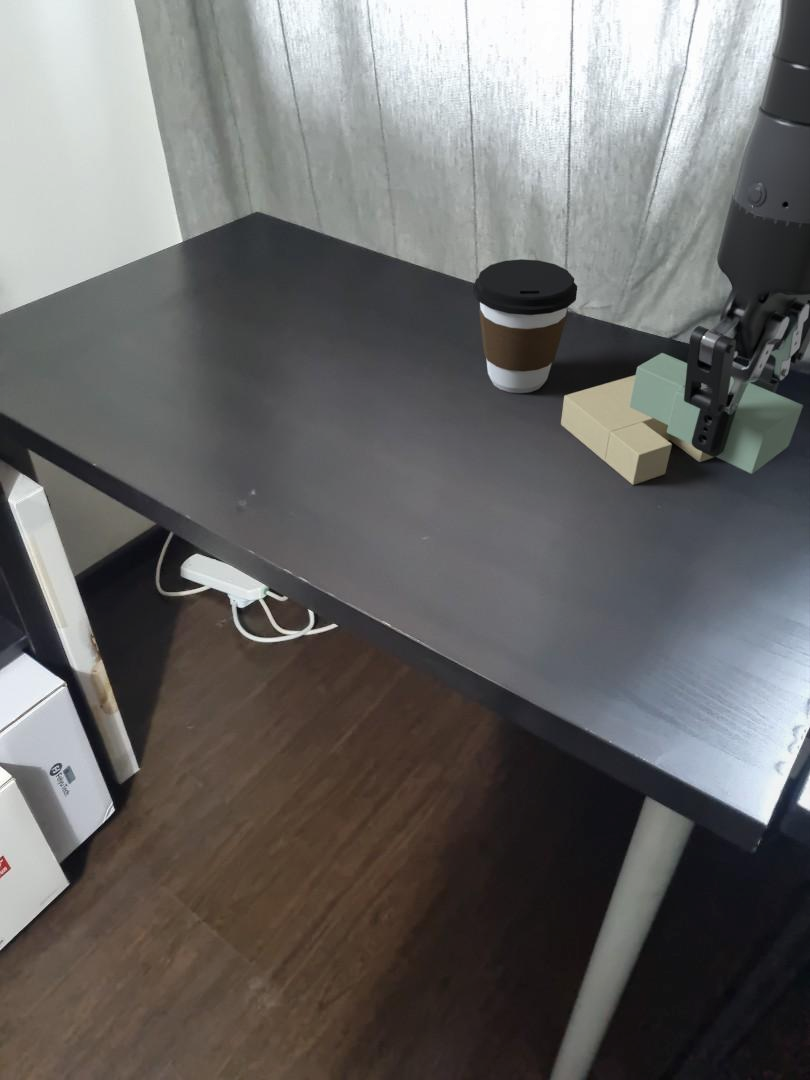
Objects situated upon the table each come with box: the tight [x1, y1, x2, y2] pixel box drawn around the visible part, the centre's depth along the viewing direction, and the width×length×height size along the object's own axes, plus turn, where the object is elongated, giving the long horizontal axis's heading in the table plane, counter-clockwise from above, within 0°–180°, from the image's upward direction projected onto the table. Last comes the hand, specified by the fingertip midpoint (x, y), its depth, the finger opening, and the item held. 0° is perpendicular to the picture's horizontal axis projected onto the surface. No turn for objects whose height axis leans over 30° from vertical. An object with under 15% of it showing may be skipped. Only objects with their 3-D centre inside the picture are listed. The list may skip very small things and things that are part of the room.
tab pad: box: [630, 352, 804, 475], centre depth 60 cm, size 11×5×4 cm, turn 42°
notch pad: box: [560, 374, 714, 486], centre depth 83 cm, size 12×12×4 cm
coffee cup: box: [472, 258, 578, 394], centre depth 90 cm, size 11×11×12 cm
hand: (728, 434), depth 60 cm, fingers closed on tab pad, 5 cm apart
